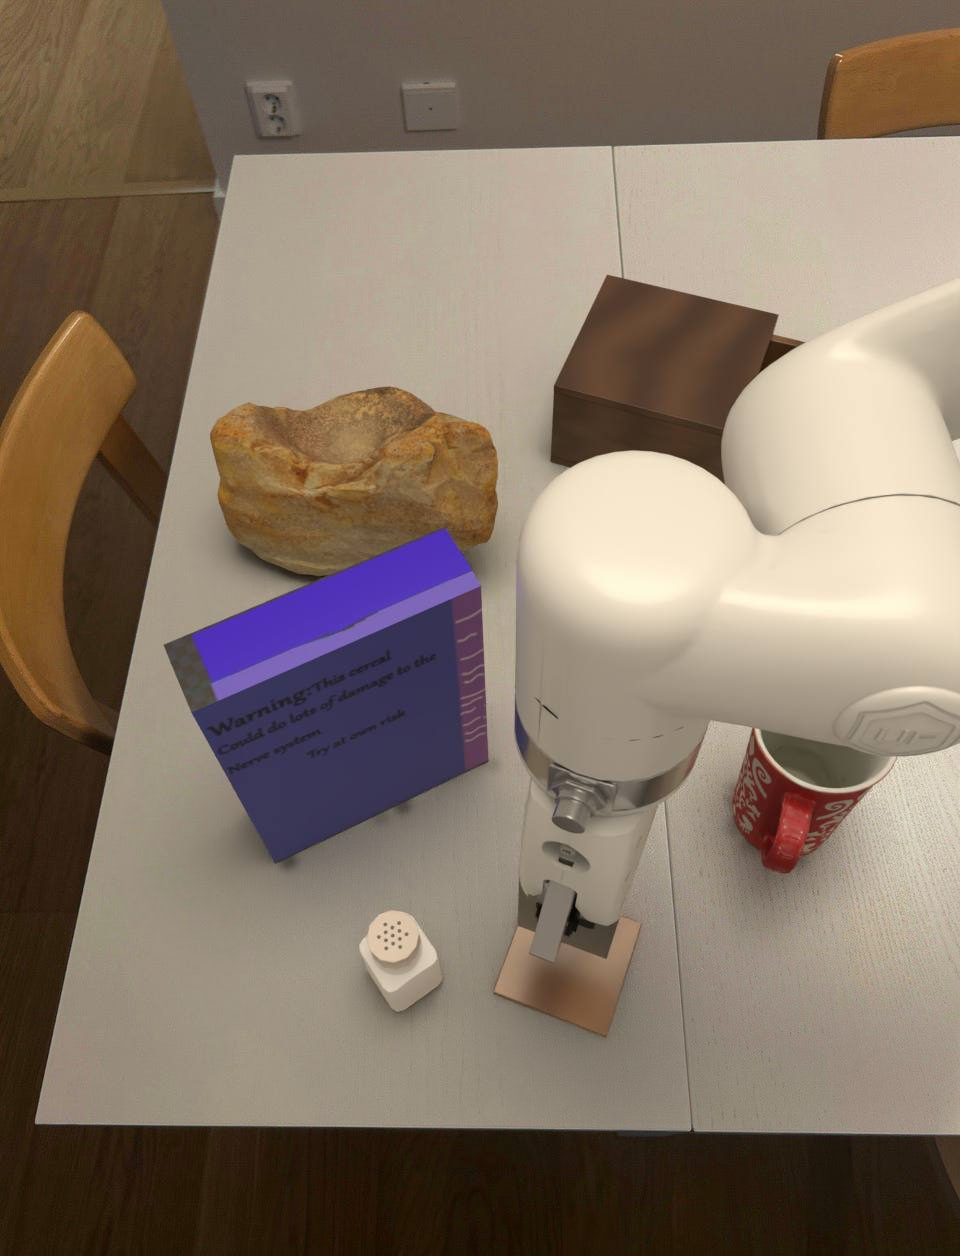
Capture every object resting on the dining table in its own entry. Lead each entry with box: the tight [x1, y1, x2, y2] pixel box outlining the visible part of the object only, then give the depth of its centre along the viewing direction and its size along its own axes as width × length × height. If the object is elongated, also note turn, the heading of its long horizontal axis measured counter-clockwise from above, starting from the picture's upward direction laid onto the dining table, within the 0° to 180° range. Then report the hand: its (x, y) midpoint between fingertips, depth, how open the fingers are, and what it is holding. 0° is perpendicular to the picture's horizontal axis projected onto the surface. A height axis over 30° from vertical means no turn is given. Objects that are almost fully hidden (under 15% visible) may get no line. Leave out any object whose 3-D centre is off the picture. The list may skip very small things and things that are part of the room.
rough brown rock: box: [209, 386, 499, 577], centre depth 88 cm, size 23×17×15 cm
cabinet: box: [550, 274, 780, 485], centre depth 94 cm, size 16×15×10 cm
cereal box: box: [163, 527, 489, 865], centre depth 70 cm, size 17×5×24 cm, turn 117°
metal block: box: [517, 877, 620, 959], centre depth 58 cm, size 6×4×12 cm
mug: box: [731, 728, 898, 875], centre depth 72 cm, size 13×9×14 cm
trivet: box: [492, 915, 642, 1038], centre depth 73 cm, size 8×8×1 cm
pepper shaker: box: [358, 909, 443, 1013], centre depth 68 cm, size 4×4×10 cm
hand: (581, 868), depth 57 cm, fingers closed on metal block, 4 cm apart
